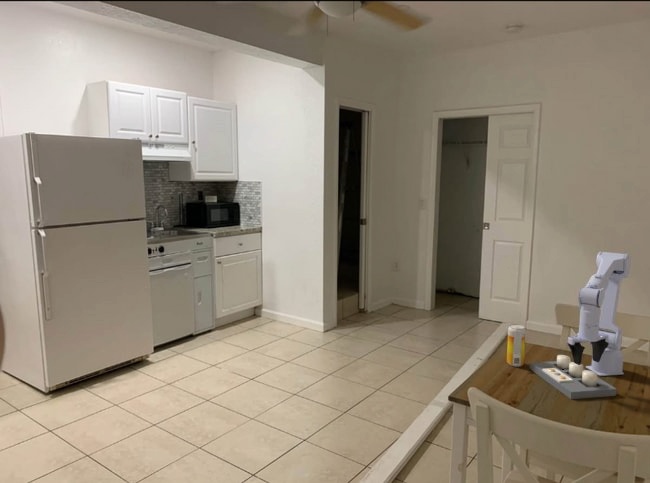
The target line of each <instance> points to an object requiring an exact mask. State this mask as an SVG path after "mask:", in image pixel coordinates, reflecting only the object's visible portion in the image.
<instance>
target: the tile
mask: <svg viewBox="0 0 650 483" xmlns="http://www.w3.org/2000/svg"><path fill="white" fill-rule="evenodd" d="M542 371H544V372H545V373H546V374H548V375H549V376H551V377H552V378H554V379H555V380H556V381H558V382H559V383H560V382H573V379H571V378H570V377H568V376H567V375H565V374H564V373H562V372H561V371H559V370H558V369H556V368H547V369H542Z"/></svg>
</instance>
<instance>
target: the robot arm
mask: <svg viewBox="0 0 650 483" xmlns="http://www.w3.org/2000/svg"><path fill="white" fill-rule="evenodd" d="M595 262H596V263H595V264H596V267H597V271H596V273H594V274H593V275H591V276H590V277H589V280H588V282H587V283H586V285H585V287H582V288H580V289H579V292H578V296H577V297H578V298H577V300H578V309H579V310H580V312H579V326H578V332H577V334H575V335H573V336H570V337H569V336H568V337H567V346H568V347H569V349H570V351H571V354H572V359H573V362H574V363H575V364H577V365H580V364H582V359H583V354H584V350H585V349H586V347H585V346H583V345H582V344H583V343H589V345H590V346H591V347H590V348H591V349H592V355H591V365H586V366H585V368H586V369H587V370H588V371H593V372H596V373H597V374H598V376H600V377H604V376H619V375H625V374H624V371H623V365H624V355H623V351H622V349H621V347H622V342H623V330H622V328H621V327H620V326H619V325H618V324H617V323H615V321H616V317H617V310H618V303H619V298H620V292H621V285H622V282H623V279H625V278H628V277H629V275H630V270H631V264H632V257H631V255H630V254H629V253H618V252H609V251H601V250H600V251H599V252H598V253H597V255H596V259H595Z"/></svg>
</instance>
